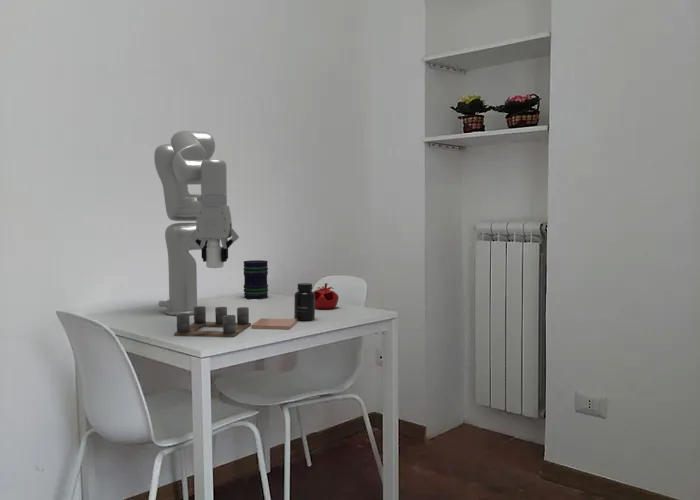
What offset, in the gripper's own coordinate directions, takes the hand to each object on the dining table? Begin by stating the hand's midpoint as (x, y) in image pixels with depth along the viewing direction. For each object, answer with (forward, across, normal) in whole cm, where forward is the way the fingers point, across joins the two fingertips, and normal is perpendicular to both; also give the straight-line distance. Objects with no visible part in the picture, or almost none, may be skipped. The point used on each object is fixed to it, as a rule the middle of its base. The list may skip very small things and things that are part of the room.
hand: (214, 260), depth 194 cm
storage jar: (+22, -6, +66) cm, 70 cm away
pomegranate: (+22, +26, +45) cm, 56 cm away
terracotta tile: (+21, +16, +10) cm, 28 cm away
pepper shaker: (+2, 0, 0) cm, 2 cm away
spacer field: (+21, 0, 0) cm, 21 cm away
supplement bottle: (+21, +23, +21) cm, 38 cm away
